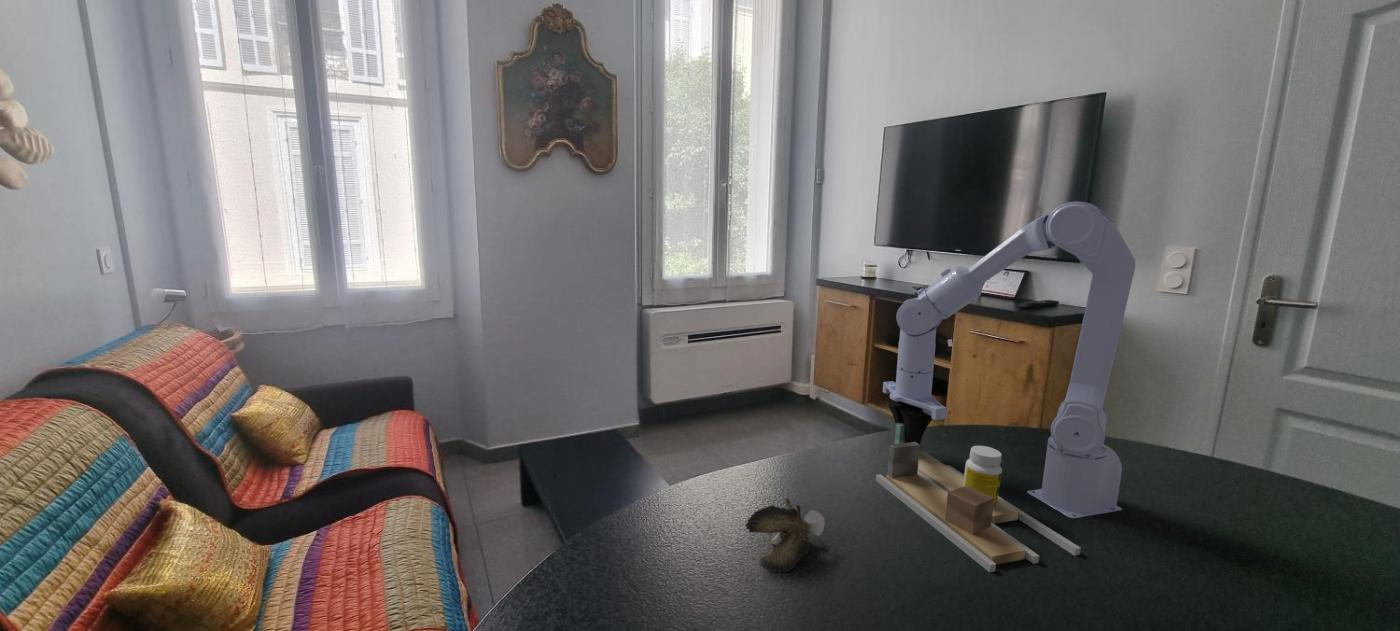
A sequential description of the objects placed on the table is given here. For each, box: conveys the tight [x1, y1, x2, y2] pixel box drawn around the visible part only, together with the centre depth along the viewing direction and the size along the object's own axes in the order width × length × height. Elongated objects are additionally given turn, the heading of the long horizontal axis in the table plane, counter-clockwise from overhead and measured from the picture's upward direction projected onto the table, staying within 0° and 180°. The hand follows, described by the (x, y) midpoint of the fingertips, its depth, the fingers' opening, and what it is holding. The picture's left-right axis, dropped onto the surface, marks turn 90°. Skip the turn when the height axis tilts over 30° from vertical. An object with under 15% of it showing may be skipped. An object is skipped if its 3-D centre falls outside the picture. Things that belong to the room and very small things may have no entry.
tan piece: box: [894, 423, 1019, 525], centre depth 88 cm, size 5×22×6 cm, turn 16°
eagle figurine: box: [744, 497, 826, 573], centre depth 72 cm, size 8×7×9 cm
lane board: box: [875, 465, 1081, 573], centre depth 81 cm, size 14×24×2 cm, turn 16°
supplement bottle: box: [962, 445, 1003, 505], centre depth 82 cm, size 5×5×8 cm
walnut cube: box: [945, 485, 994, 535], centre depth 76 cm, size 4×4×4 cm
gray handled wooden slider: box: [885, 442, 1026, 565], centre depth 79 cm, size 5×22×6 cm, turn 16°
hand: (908, 445), depth 98 cm, fingers closed
